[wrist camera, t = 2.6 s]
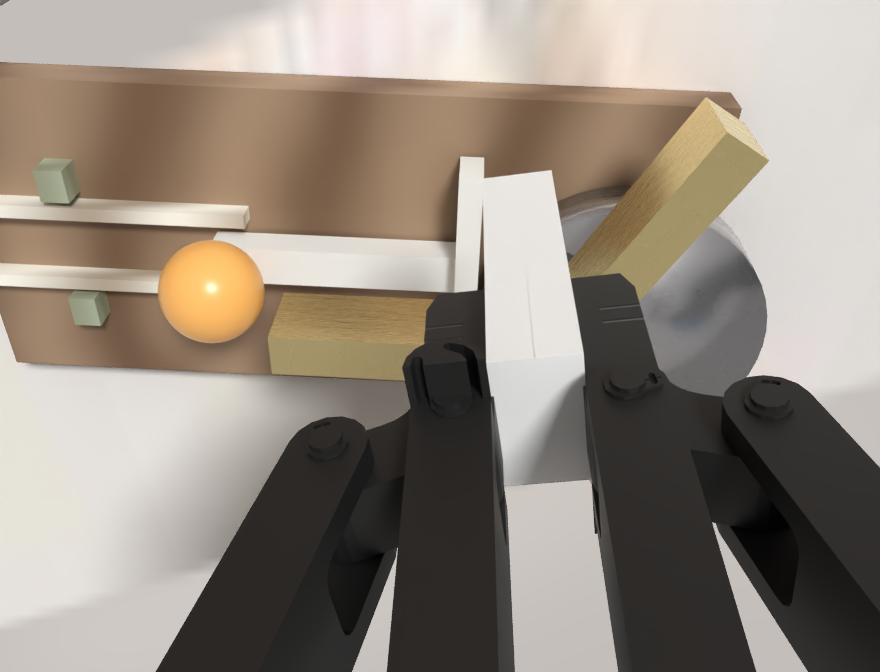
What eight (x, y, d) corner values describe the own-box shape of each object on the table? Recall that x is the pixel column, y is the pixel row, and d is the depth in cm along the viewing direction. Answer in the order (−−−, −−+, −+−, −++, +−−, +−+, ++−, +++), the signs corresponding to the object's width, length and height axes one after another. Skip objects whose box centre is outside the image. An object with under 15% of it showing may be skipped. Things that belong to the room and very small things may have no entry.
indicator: (484, 157, 28) (483, 223, 24) (472, 347, 33) (470, 427, 29) (168, 143, 28) (118, 206, 24) (201, 334, 33) (164, 412, 29)
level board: (730, 92, 28) (749, 120, 26) (665, 372, 35) (676, 410, 33) (-58, 59, 29) (-99, 84, 27) (33, 340, 36) (5, 377, 34)
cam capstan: (289, 262, 31) (234, 406, 24) (490, -79, 24) (491, -8, 17) (633, 443, 35) (667, 607, 29) (889, 200, 28) (1012, 342, 22)
